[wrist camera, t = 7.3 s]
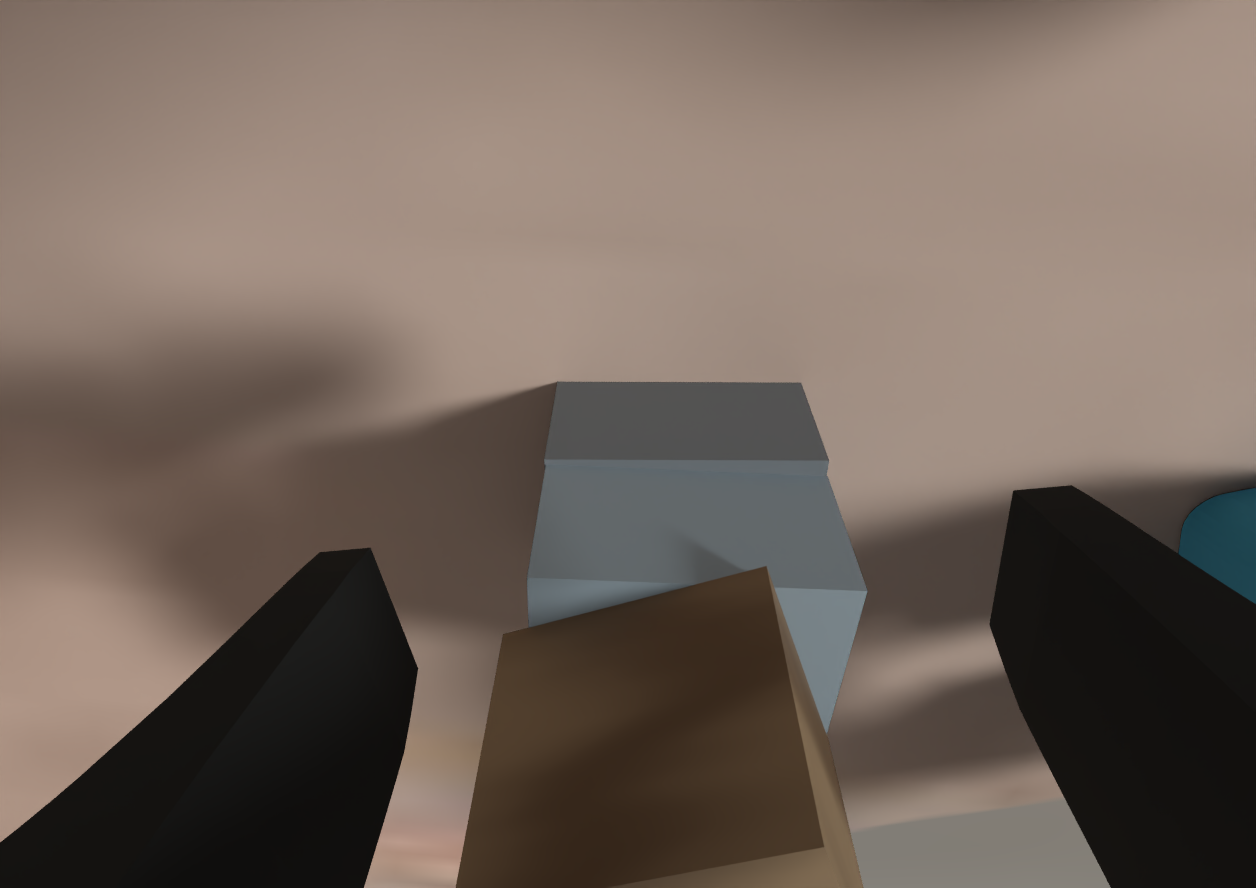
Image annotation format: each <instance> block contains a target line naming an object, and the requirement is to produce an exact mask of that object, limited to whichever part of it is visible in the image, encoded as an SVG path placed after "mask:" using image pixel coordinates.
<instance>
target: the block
mask: <svg viewBox="0 0 1256 888" xmlns="http://www.w3.org/2000/svg"><path fill="white" fill-rule="evenodd" d="M1178 554H1179V555H1181V556H1182V557H1184V558H1185V559H1187V560H1188V561H1190V562H1191V563H1193V564H1194V565H1196V566H1197V567H1199V568H1200V569H1202V570H1203V571H1205V572H1207V573H1208V574H1210V575H1211V576H1213V577H1214V578H1216V579H1217V580H1219V581H1220V582H1222V583H1223V584H1225V585H1227V586H1228V587H1230V588H1231V589H1233V590H1234V591H1236V592H1238V593H1239V594H1241V595H1242V596H1244V597H1245V598H1247V599H1249V600H1250V601H1252V602H1253V603H1255V604H1256V488H1251V489H1246V490H1241V491H1236V492H1231V493H1225V494H1222V495H1218V496H1215V497H1213V498H1211V499H1209V500H1207V501H1205V502H1203V503H1202V504H1200V505H1199V506H1198V507H1196V508H1195V509H1194V510H1193V511H1192V512H1191V513H1190V514H1189V515H1188V517H1187V519H1186V520H1185V522H1184V524H1183V527H1182V532H1181V539H1180V546H1179V553H1178Z"/></svg>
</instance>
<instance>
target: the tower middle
mask: <svg viewBox="0 0 1256 888" xmlns="http://www.w3.org/2000/svg"><path fill="white" fill-rule="evenodd" d="M764 566H767V569H768V571H769V574H770V577H771V580H772V583H773V585H774V588H775V591H776V594H777V597H778V600H779V602H780V605H781V608H782V611H783V614H784V616H785V619H786V622H787V625H788V628H789V631H790V633H791V636H792V639H793V642H794V645H795V647H796V650H797V653H798V656H799V659H800V661H801V664H802V667H803V670H804V673H805V676H806V678H807V681H808V684H809V687H810V690H811V692H812V695H813V698H814V701H815V704H816V706H817V709H818V712H819V715H820V718H821V721H822V723H823V726H824V729H825V732H826V735H827V732H828V728H829V725H830V721H831V718H832V714H833V711H834V707H835V704H836V700H837V697H838V693H839V689H840V686H841V682H842V679H843V675H844V672H845V668H846V665H847V661H848V658H849V654H850V651H851V647H852V644H853V640H854V637H855V633H856V630H857V626H858V623H859V619H860V616H861V612H862V609H863V605H864V602H865V598H866V595H867V588H866V585H865V582H864V580H863V577H862V574H861V571H860V568H859V565H858V562H857V559H856V557H855V554H854V551H853V548H852V545H851V542H850V539H849V536H848V533H847V531H846V528H845V525H844V522H843V519H842V516H841V513H840V510H839V508H838V505H837V502H836V499H835V496H834V493H833V490H832V487H831V485H830V482H829V479H828V476H809V475H785V474H761V473H737V472H713V471H689V470H665V469H641V468H617V467H593V466H568V465H546V468H545V474H544V480H543V486H542V492H541V498H540V503H539V509H538V515H537V521H536V527H535V533H534V539H533V545H532V551H531V557H530V563H529V569H528V575H527V593H528V623H529V628H530V627H533V626H537V625H541V624H545V623H549V622H553V621H557V620H561V619H564V618H568V617H572V616H576V615H580V614H584V613H588V612H591V611H595V610H599V609H603V608H607V607H611V606H615V605H619V604H622V603H626V602H630V601H634V600H638V599H642V598H646V597H649V596H653V595H657V594H661V593H665V592H669V591H673V590H677V589H680V588H684V587H688V586H692V585H696V584H699V583H703V582H707V581H710V580H714V579H718V578H722V577H726V576H730V575H733V574H737V573H741V572H745V571H749V570H753V569H757V568H760V567H764Z"/></svg>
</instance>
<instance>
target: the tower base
mask: <svg viewBox="0 0 1256 888" xmlns="http://www.w3.org/2000/svg"><path fill="white" fill-rule="evenodd" d="M544 464H545V468H546V465H568V466H593V467H617V468H641V469H665V470H689V471H713V472H737V473H761V474H785V475H809V476H827V470H828V464H829V459H828V456H827V454H826V451H825V448H824V445H823V442H822V440H821V437H820V434H819V431H818V428H817V426H816V423H815V420H814V417H813V415H812V412H811V409H810V406H809V403H808V401H807V398H806V395H805V392H804V390H803V387H802V384H801V383H737V382H557V388H556V393H555V399H554V405H553V411H552V417H551V423H550V429H549V434H548V440H547V446H546V452H545V458H544Z"/></svg>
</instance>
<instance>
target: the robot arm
mask: <svg viewBox="0 0 1256 888" xmlns="http://www.w3.org/2000/svg"><path fill="white" fill-rule="evenodd" d="M990 628H991V631H992V633H993V636H994V639H995V642H996V645H997V648H998V651H999V654H1000V657H1001V659H1002V662H1003V665H1004V668H1005V671H1006V674H1007V676H1008V679H1009V682H1010V684H1011V687H1012V690H1013V692H1014V695H1015V697H1016V700H1017V703H1018V705H1019V708H1020V710H1021V712H1022V714H1023V716H1024V718H1025V721H1026V723H1027V725H1028V727H1029V729H1030V731H1031V733H1032V735H1033V737H1034V739H1035V741H1036V743H1037V745H1038V747H1039V748H1040V750H1041V752H1042V754H1043V756H1044V758H1045V760H1046V762H1047V764H1048V766H1049V768H1050V770H1051V772H1052V774H1053V776H1054V778H1055V780H1056V782H1057V784H1058V786H1059V788H1060V790H1061V792H1062V794H1063V796H1064V798H1065V799H1066V801H1067V803H1068V805H1069V807H1070V809H1071V811H1072V813H1073V815H1074V817H1075V819H1076V821H1077V823H1078V825H1079V827H1080V828H1081V830H1082V832H1083V834H1084V836H1085V838H1086V840H1087V842H1088V844H1089V846H1090V848H1091V850H1092V852H1093V854H1094V856H1095V857H1096V860H1097V862H1098V864H1099V865H1100V867H1101V869H1102V871H1103V873H1104V875H1105V877H1106V879H1107V881H1108V883H1109V885H1110V887H1111V888H1256V604H1255V603H1253V602H1252V601H1250V600H1249V599H1247V598H1245V597H1244V596H1242V595H1241V594H1239V593H1238V592H1236V591H1234V590H1233V589H1231V588H1230V587H1228V586H1227V585H1225V584H1223V583H1222V582H1220V581H1219V580H1217V579H1216V578H1214V577H1213V576H1211V575H1210V574H1208V573H1207V572H1205V571H1203V570H1202V569H1200V568H1199V567H1197V566H1196V565H1194V564H1193V563H1191V562H1190V561H1188V560H1187V559H1185V558H1184V557H1182V556H1181V555H1179V554H1178V553H1176V552H1174V551H1173V550H1171V549H1170V548H1168V547H1167V546H1165V545H1164V544H1162V543H1161V542H1159V541H1158V540H1156V539H1155V538H1153V537H1152V536H1150V535H1149V534H1147V533H1146V532H1144V531H1143V530H1141V529H1140V528H1138V527H1137V526H1135V525H1134V524H1132V523H1130V522H1129V521H1127V520H1126V519H1124V518H1123V517H1121V516H1120V515H1118V514H1117V513H1115V512H1114V511H1112V510H1111V509H1109V508H1108V507H1106V506H1104V505H1103V504H1101V503H1100V502H1098V501H1097V500H1095V499H1093V498H1092V497H1090V496H1089V495H1087V494H1085V493H1084V492H1082V491H1080V490H1079V489H1077V488H1075V487H1074V486H1072V485H1071V486H1060V487H1048V488H1037V489H1026V490H1015V491H1013V495H1012V501H1011V506H1010V512H1009V518H1008V523H1007V529H1006V535H1005V540H1004V546H1003V551H1002V557H1001V563H1000V568H999V574H998V580H997V585H996V591H995V596H994V602H993V608H992V613H991V619H990ZM417 672H418V667H417V665H416V662H415V660H414V657H413V654H412V652H411V649H410V647H409V644H408V642H407V639H406V637H405V634H404V632H403V629H402V627H401V624H400V621H399V619H398V616H397V614H396V611H395V609H394V606H393V604H392V601H391V599H390V596H389V594H388V591H387V588H386V586H385V583H384V581H383V578H382V576H381V573H380V571H379V568H378V566H377V563H376V561H375V558H374V555H373V553H372V550H371V548H363V549H351V550H340V551H329V552H320V553H319V554H317V555H316V556H315V557H314V558H313V559H312V560H311V561H310V562H308V563H307V564H306V565H305V566H304V567H303V568H302V569H301V570H300V571H299V572H297V573H296V574H295V575H294V576H293V577H292V578H291V579H290V580H289V581H288V582H287V583H286V584H285V585H284V586H283V587H282V588H281V589H280V590H279V591H278V592H277V593H276V594H275V595H273V596H272V597H271V598H270V599H269V600H268V601H267V602H266V603H265V604H264V605H263V606H262V607H261V608H260V609H259V610H258V611H257V612H256V613H255V614H254V615H253V616H252V617H251V618H250V619H249V620H248V621H247V622H246V623H245V624H244V625H243V626H242V627H241V628H240V629H239V630H238V631H237V632H236V633H235V634H234V635H233V636H232V637H231V638H229V639H228V640H227V641H226V642H225V643H224V644H223V645H222V646H221V647H220V648H219V649H218V650H217V651H216V652H215V653H214V654H213V655H212V656H211V657H210V658H209V659H208V660H207V661H206V662H205V663H203V664H202V665H201V666H200V667H199V668H198V669H197V670H196V671H195V672H194V673H193V674H192V675H191V676H190V677H189V678H188V679H187V680H186V681H185V682H184V683H183V684H182V685H181V686H180V687H179V688H178V689H176V690H175V691H174V692H173V693H172V694H171V695H170V696H169V697H168V698H167V699H166V700H165V701H164V702H162V703H161V704H160V705H159V706H158V707H157V708H156V709H155V710H154V711H152V712H151V713H150V714H149V715H148V716H147V717H146V718H145V719H144V720H142V721H141V722H140V723H139V724H138V725H137V726H136V727H135V728H134V729H132V730H131V731H130V732H129V733H128V734H127V735H126V736H125V737H124V738H122V739H121V740H120V741H119V742H118V743H117V744H116V745H115V746H113V747H112V748H111V749H110V750H109V751H108V752H107V753H106V754H105V755H103V756H102V757H101V758H100V759H99V760H98V761H97V762H96V763H95V764H93V765H92V766H91V767H90V768H89V769H88V770H87V771H86V772H85V773H83V774H82V775H81V776H80V777H79V778H78V779H77V780H76V781H74V782H73V783H72V784H71V785H70V786H68V787H67V788H66V789H65V790H64V791H63V792H61V793H60V794H59V795H58V796H57V797H56V798H54V799H53V800H52V801H51V802H50V803H48V804H47V805H46V806H45V807H44V808H42V809H41V810H40V811H39V812H37V813H36V814H35V815H34V816H33V817H31V818H30V819H29V820H28V821H27V822H25V823H24V824H23V825H22V826H20V827H19V828H18V829H17V830H16V831H14V832H13V833H12V834H10V835H9V836H8V837H7V838H5V839H4V840H3V841H2V842H0V888H364V885H365V882H366V879H367V875H368V872H369V869H370V865H371V862H372V859H373V856H374V852H375V849H376V846H377V842H378V839H379V836H380V833H381V829H382V826H383V823H384V819H385V816H386V813H387V809H388V806H389V802H390V799H391V796H392V792H393V789H394V785H395V782H396V779H397V775H398V772H399V768H400V765H401V761H402V758H403V754H404V750H405V745H406V739H407V734H408V728H409V723H410V717H411V711H412V705H413V698H414V692H415V685H416V678H417Z"/></svg>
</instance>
